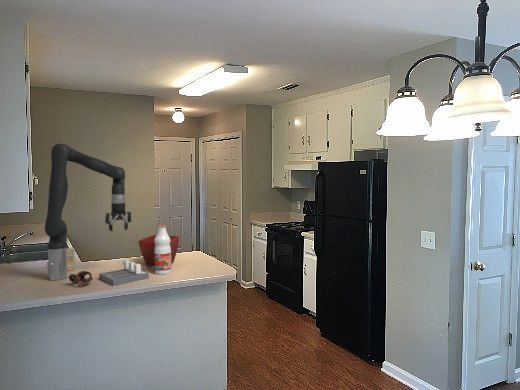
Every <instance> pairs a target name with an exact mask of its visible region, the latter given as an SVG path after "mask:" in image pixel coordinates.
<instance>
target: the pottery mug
mask: <svg viewBox="0 0 520 390" xmlns="http://www.w3.org/2000/svg"><path fill="white" fill-rule="evenodd" d="M87 275H89V277H88V278H86V276H87ZM68 279H69V281H70V282H71V283H73V284H74V285H75V284H76V285H78V287H79V288H82V287H83V286H85V285H87V284H89V283H90V282H92V281H93V280H94V279H93V276H92V273H91V272H90V271H87V270H81V271H78V272H77V274H75V273H70V274H69V276H68Z"/></svg>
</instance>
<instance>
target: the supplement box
mask: <svg viewBox="0 0 520 390" xmlns="http://www.w3.org/2000/svg"><path fill="white" fill-rule="evenodd" d="M75 257H76V256H75V247H70V248H67V247H66V258H67V272H68V271H75V269H76V259H75Z"/></svg>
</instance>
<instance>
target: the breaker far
mask: <svg viewBox="0 0 520 390" xmlns="http://www.w3.org/2000/svg"><path fill="white" fill-rule="evenodd" d="M129 262H131V260H129V259H125V260H123V269H125V270H129Z"/></svg>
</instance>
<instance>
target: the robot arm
mask: <svg viewBox="0 0 520 390" xmlns="http://www.w3.org/2000/svg"><path fill="white" fill-rule="evenodd" d="M50 151H51V153H50V154H51V155H50V158H51V160H50V161H51V170H50V171H51V172H50V177H49V186H48V201H47V214H46V219H45V224H44V232H45V234H46V235H47V236H48V237H49V240H48V243H47V256H48V257H47V259H48V261H47V262H46V265H47V266H46V267H47V279H48V280H50V281H60V280H65V279H67V278H68V271H67V258H66V248H67V242H68V230H67V228H68V227H67V224H66V222H65V220H63V219H62V214H63V213H62V212H63V209H64V206H65V203H66V201H67V197H68V191H69V190H68V188H69V183H68V176H67V163H68V162H71V163H75V164H78V165H81V166H83V167H85V168H87V169H89V170H91V171H93V172H95V173H98V174H101V175H105V176H107V177H109V178H111V179H112V184H111V198H110V202H111V204H110V205H111V211H110V212H105V218H104V219H105V221H104V222H105V224H107V225H108V230H109V231H110V232H113V226H114V225H113V224H114V222H116V221H123V222H124V225H123V227H124V231H127V230H128V228H129V223H131V222H132V212H131V211H126V194H125V193H126V191H125V190H126V188H125V183H126V171H125V169H124V168H123V167H121V166H116V165H113V164H110V163H109V162H106V161H104V160H101V159H99V158H96V157H93V156H91V155H87V154H84V153H82V152H80V151H77V150H76V149H74V148H73V147H71V146H69V145H68V144H67V143H66V144H65V143H56V144H55V145H53V146H52V147H51V150H50ZM125 216H126V217H125Z"/></svg>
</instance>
